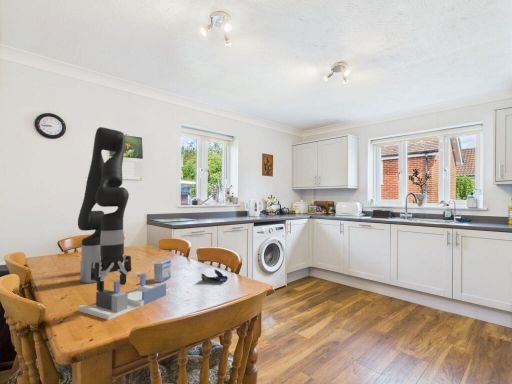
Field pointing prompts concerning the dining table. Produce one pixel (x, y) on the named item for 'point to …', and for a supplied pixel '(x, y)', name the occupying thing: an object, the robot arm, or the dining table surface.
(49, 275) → the dining table surface
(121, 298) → the grey rectangular blocks
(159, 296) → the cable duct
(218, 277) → the black clip
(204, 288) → the dining table surface
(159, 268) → the medicine box
